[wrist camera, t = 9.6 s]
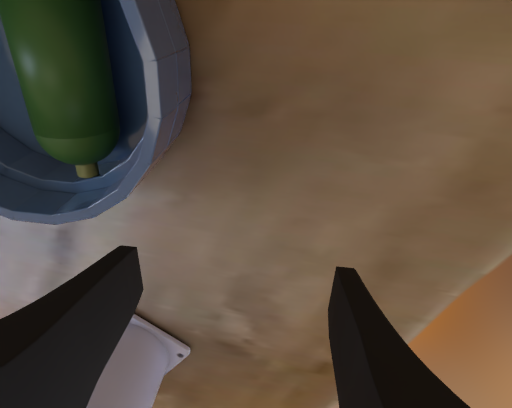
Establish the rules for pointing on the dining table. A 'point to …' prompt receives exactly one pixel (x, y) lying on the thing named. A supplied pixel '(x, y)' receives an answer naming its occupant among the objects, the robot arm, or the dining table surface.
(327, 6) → the dining table surface
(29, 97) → the zucchini
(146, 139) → the bowl
